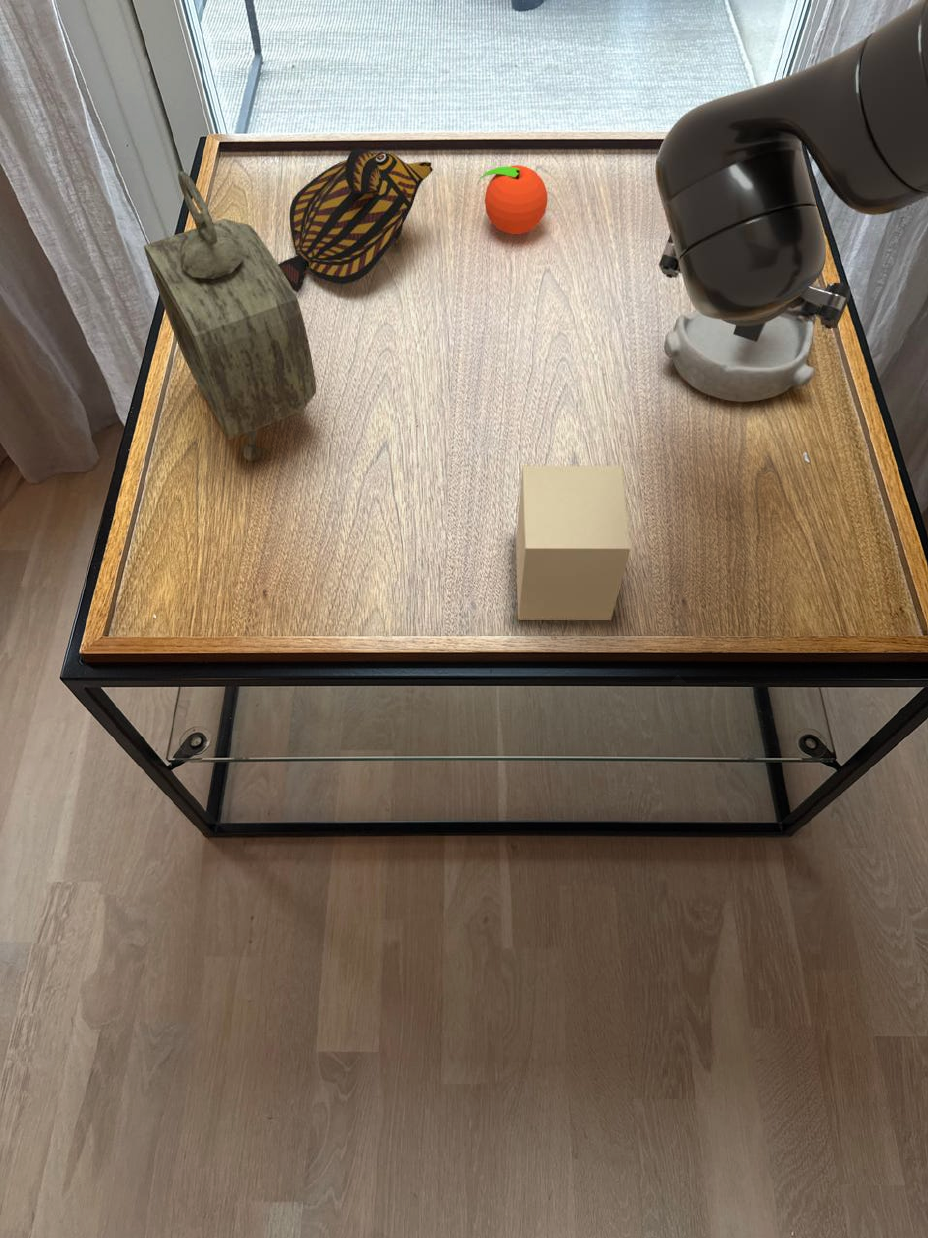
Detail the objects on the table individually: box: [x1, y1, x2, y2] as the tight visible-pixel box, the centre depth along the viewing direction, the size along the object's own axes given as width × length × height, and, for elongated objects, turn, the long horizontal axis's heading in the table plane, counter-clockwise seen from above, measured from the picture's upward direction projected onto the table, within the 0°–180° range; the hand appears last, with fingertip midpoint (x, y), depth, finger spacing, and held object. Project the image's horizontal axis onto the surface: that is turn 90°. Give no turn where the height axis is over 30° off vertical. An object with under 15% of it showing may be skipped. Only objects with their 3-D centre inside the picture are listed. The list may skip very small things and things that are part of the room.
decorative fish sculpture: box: [277, 148, 434, 292], centre depth 97 cm, size 14×16×12 cm
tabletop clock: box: [143, 171, 317, 462], centre depth 80 cm, size 14×9×25 cm, turn 29°
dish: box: [663, 309, 817, 403], centre depth 92 cm, size 14×14×5 cm
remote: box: [733, 323, 766, 342], centre depth 86 cm, size 2×5×8 cm, turn 154°
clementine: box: [476, 164, 549, 235], centre depth 101 cm, size 8×7×7 cm
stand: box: [515, 465, 632, 621], centre depth 76 cm, size 8×8×11 cm
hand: (755, 292), depth 77 cm, fingers open, 8 cm apart
